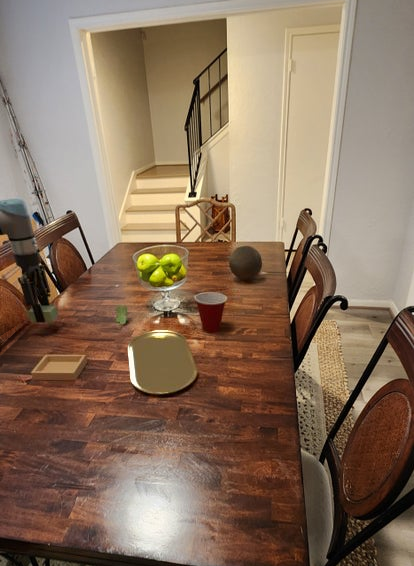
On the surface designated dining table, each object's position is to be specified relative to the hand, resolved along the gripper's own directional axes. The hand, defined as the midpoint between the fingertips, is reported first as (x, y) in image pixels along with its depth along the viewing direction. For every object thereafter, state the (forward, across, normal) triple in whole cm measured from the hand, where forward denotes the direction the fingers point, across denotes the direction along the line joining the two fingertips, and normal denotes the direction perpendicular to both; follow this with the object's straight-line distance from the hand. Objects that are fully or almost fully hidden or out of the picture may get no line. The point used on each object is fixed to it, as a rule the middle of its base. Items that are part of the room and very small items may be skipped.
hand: (44, 318), depth 129 cm
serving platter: (+5, -20, -44) cm, 49 cm away
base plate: (+5, -25, -15) cm, 30 cm away
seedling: (+4, +11, -28) cm, 31 cm away
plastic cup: (+4, +1, -58) cm, 59 cm away
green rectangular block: (0, 0, 0) cm, 0 cm away
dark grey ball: (+4, +47, -70) cm, 85 cm away
